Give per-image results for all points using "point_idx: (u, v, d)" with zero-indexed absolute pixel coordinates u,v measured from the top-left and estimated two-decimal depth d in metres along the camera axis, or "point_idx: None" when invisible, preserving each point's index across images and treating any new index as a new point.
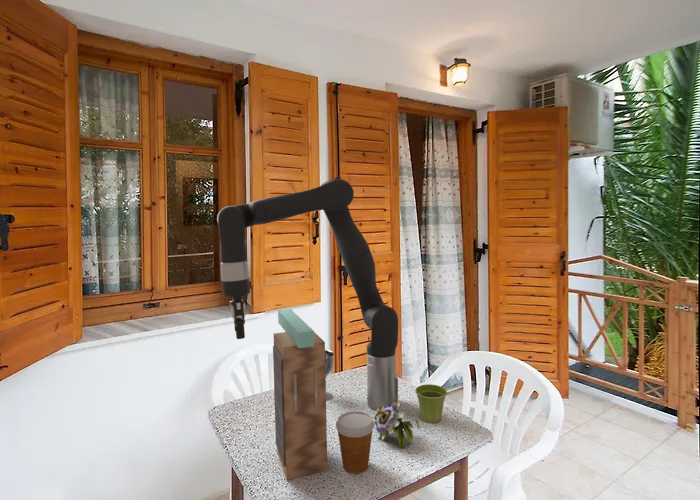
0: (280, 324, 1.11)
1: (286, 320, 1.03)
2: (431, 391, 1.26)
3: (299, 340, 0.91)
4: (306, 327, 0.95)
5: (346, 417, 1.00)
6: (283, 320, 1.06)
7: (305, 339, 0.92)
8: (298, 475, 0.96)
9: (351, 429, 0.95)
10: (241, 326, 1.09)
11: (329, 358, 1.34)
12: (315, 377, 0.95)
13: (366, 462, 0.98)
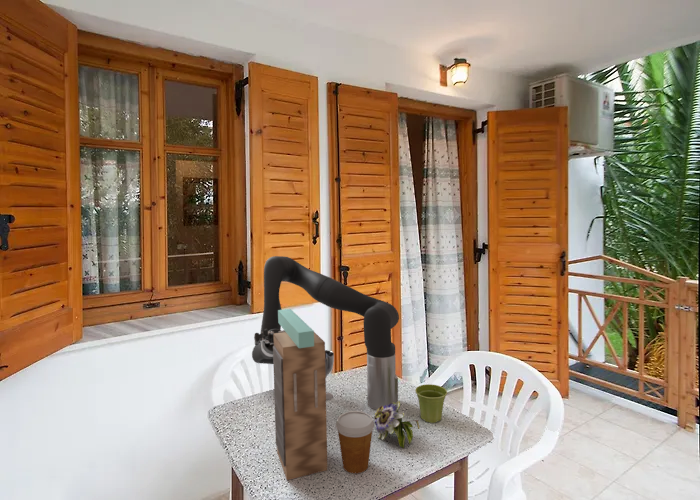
0: (280, 324, 1.11)
1: (286, 320, 1.03)
2: (431, 391, 1.26)
3: (299, 340, 0.91)
4: (306, 327, 0.95)
5: (346, 417, 1.00)
6: (283, 320, 1.06)
7: (305, 339, 0.92)
8: (298, 475, 0.96)
9: (351, 429, 0.95)
10: (261, 334, 1.21)
11: (329, 358, 1.34)
12: (315, 377, 0.95)
13: (366, 462, 0.98)
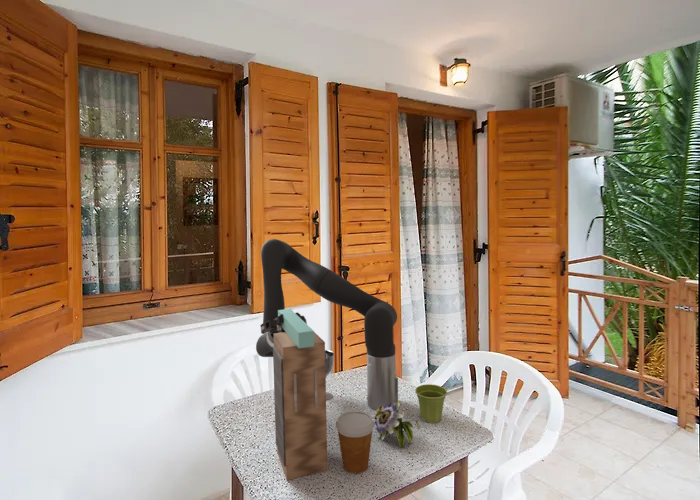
0: None
1: (286, 320, 1.03)
2: (431, 391, 1.26)
3: (299, 340, 0.91)
4: (306, 327, 0.95)
5: (346, 417, 1.00)
6: None
7: (305, 339, 0.92)
8: (298, 475, 0.96)
9: (351, 429, 0.95)
10: (276, 320, 1.09)
11: (329, 358, 1.34)
12: (315, 377, 0.95)
13: (366, 462, 0.98)
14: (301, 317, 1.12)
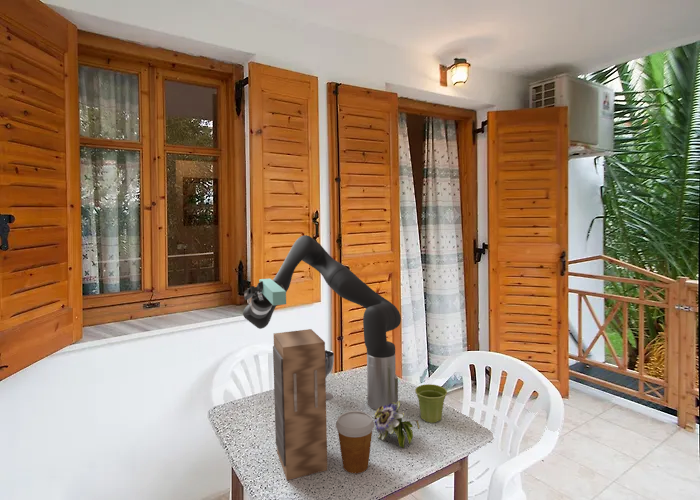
0: None
1: (264, 285, 1.20)
2: (431, 391, 1.26)
3: (273, 298, 1.08)
4: (280, 289, 1.13)
5: (346, 417, 1.00)
6: None
7: (278, 297, 1.09)
8: (298, 475, 0.96)
9: (351, 429, 0.95)
10: (257, 287, 1.26)
11: (329, 358, 1.34)
12: (315, 377, 0.95)
13: (366, 462, 0.98)
14: (279, 285, 1.30)
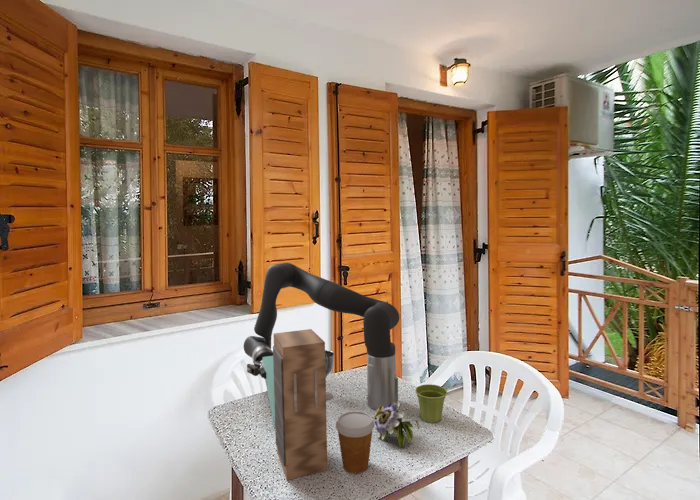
0: None
1: (268, 385, 1.23)
2: (431, 391, 1.26)
3: None
4: None
5: (346, 417, 1.00)
6: (266, 377, 1.26)
7: None
8: (298, 475, 0.96)
9: (351, 429, 0.95)
10: (260, 371, 1.28)
11: (329, 358, 1.34)
12: (315, 377, 0.95)
13: (366, 462, 0.98)
14: None
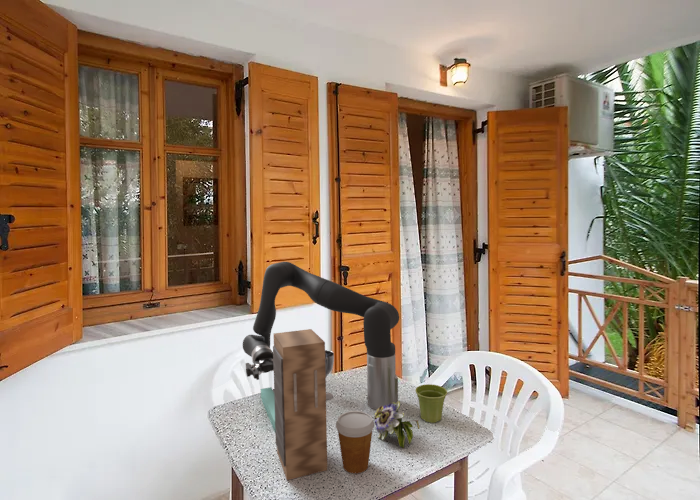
0: None
1: (266, 403, 1.27)
2: (431, 391, 1.26)
3: None
4: None
5: (346, 417, 1.00)
6: (264, 401, 1.31)
7: None
8: (298, 475, 0.96)
9: (351, 429, 0.95)
10: (252, 372, 1.29)
11: (329, 358, 1.34)
12: (315, 377, 0.95)
13: (366, 462, 0.98)
14: None
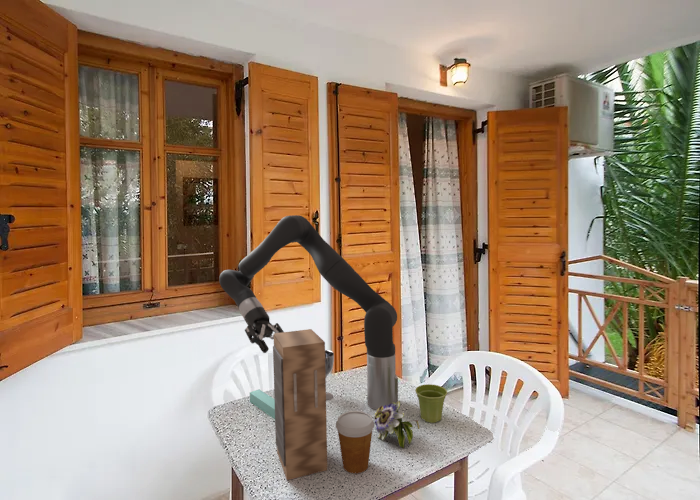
0: None
1: (266, 404, 1.27)
2: (431, 391, 1.26)
3: None
4: None
5: (346, 417, 1.00)
6: (260, 403, 1.30)
7: None
8: (298, 475, 0.96)
9: (351, 429, 0.95)
10: (259, 342, 1.29)
11: (329, 358, 1.34)
12: (315, 377, 0.95)
13: (366, 462, 0.98)
14: None
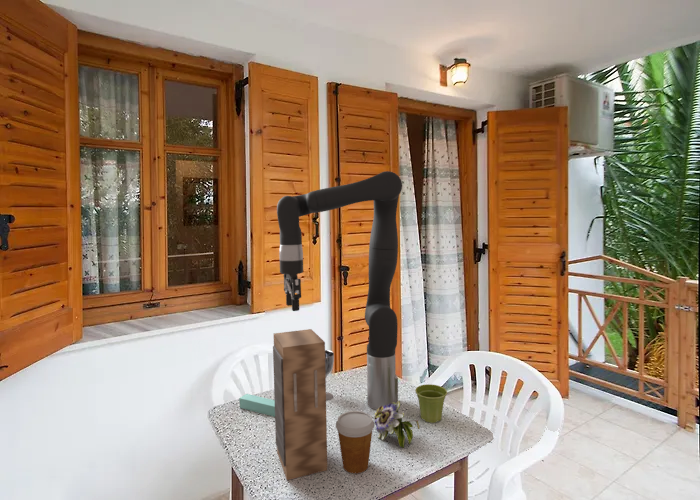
0: (247, 409, 1.30)
1: (267, 405, 1.26)
2: (431, 391, 1.26)
3: None
4: None
5: (346, 417, 1.00)
6: (257, 406, 1.28)
7: None
8: (298, 475, 0.96)
9: (351, 429, 0.95)
10: (297, 300, 1.26)
11: (329, 358, 1.34)
12: (315, 377, 0.95)
13: (366, 462, 0.98)
14: None
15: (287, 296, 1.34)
